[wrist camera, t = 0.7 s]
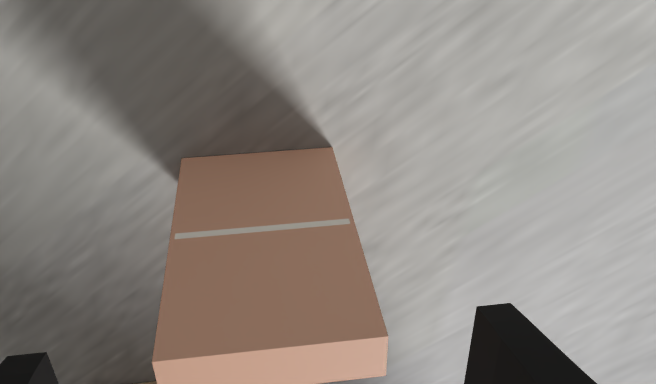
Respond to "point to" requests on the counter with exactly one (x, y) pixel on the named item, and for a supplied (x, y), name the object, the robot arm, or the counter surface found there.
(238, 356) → the tile
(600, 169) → the counter surface
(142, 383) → the tile
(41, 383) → the robot arm
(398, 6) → the counter surface
